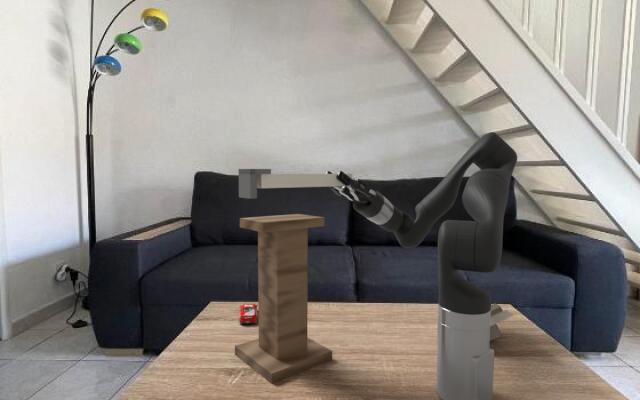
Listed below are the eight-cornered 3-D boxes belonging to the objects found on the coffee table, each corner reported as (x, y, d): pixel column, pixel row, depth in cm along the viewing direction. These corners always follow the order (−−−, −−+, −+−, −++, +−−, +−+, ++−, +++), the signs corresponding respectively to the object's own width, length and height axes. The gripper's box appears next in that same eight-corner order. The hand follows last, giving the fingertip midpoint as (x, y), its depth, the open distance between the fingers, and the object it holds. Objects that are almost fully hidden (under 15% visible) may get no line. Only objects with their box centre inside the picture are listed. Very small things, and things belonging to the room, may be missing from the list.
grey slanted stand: (481, 373, 89) (532, 332, 89) (455, 343, 91) (505, 302, 90) (465, 352, 106) (507, 317, 105) (443, 326, 107) (485, 292, 106)
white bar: (353, 193, 97) (353, 169, 96) (250, 198, 78) (250, 168, 78) (340, 193, 100) (340, 170, 100) (238, 197, 82) (238, 169, 82)
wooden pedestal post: (332, 359, 87) (333, 218, 85) (271, 383, 77) (271, 224, 75) (291, 336, 100) (291, 212, 98) (234, 354, 90) (233, 217, 88)
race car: (240, 310, 119) (240, 298, 119) (258, 309, 120) (257, 297, 120) (237, 327, 106) (237, 312, 106) (257, 326, 107) (257, 311, 107)
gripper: (359, 192, 111) (319, 161, 101) (398, 194, 100) (358, 160, 90) (350, 216, 109) (308, 186, 100) (388, 220, 98) (346, 188, 89)
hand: (332, 174), depth 95 cm, fingers closed on white bar, 4 cm apart
